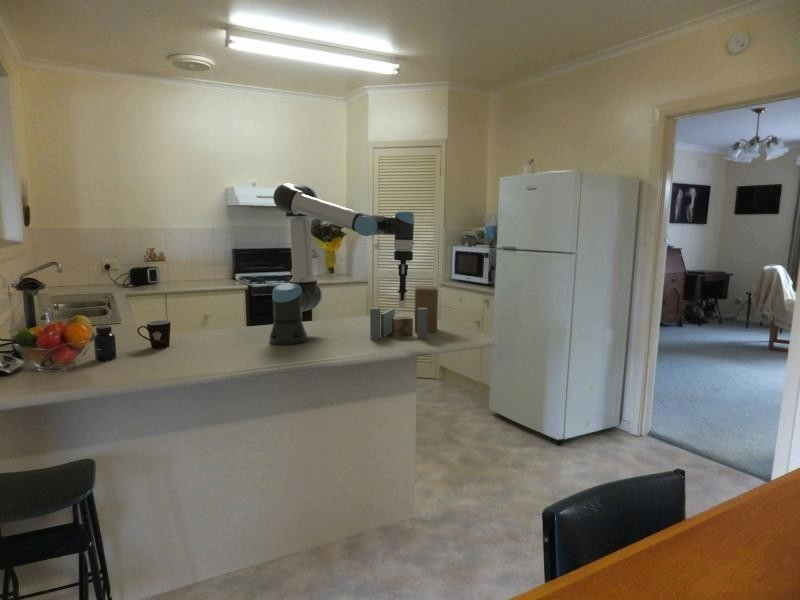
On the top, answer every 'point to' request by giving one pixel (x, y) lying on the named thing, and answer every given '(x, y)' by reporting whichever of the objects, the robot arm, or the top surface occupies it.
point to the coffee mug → (158, 333)
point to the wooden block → (427, 305)
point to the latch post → (422, 323)
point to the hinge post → (375, 323)
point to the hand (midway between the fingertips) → (401, 308)
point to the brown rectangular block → (402, 327)
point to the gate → (387, 322)
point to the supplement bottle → (104, 344)
